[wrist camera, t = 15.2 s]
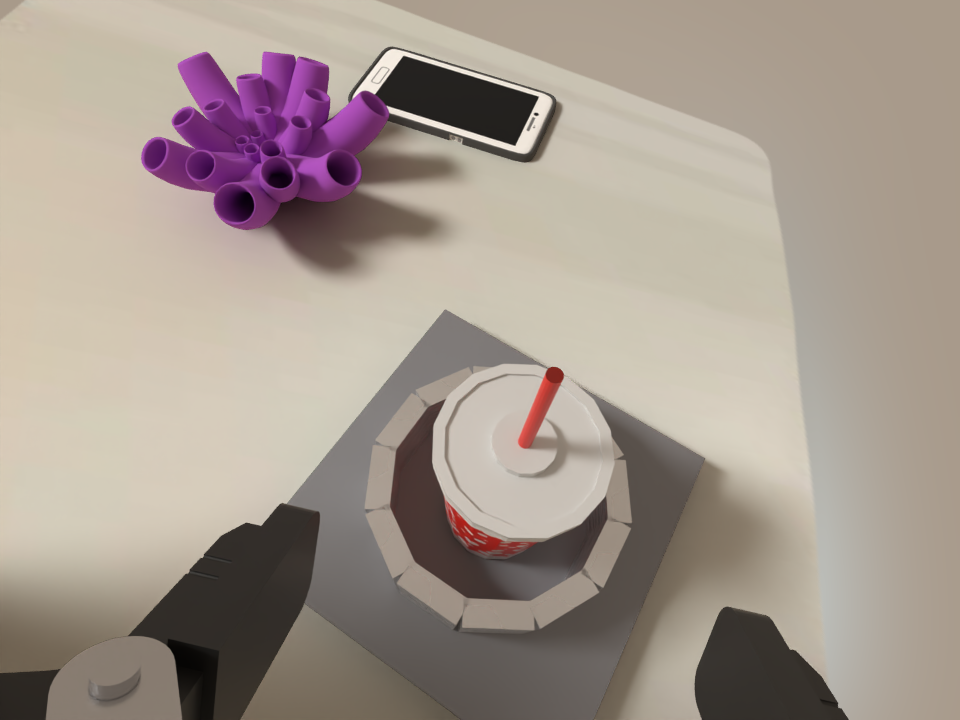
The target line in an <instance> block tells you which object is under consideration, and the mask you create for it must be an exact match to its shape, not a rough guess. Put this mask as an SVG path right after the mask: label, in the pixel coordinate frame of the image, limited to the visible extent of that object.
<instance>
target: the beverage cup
mask: <svg viewBox="0 0 960 720" xmlns="http://www.w3.org/2000/svg"><path fill="white" fill-rule="evenodd" d="M432 463H433V469H434V471H435V474H436V476H437V479H438V481H439V484H440V487H441V489H442V492H443V494H444V499H445V507H446V514H447V520H448V522H449V525H450V527H451V530H452V533H453V535H454V537H455V538H456V539H457V540H458V541H459V542H460V544H461V545H462V546H463V547H464V548H465V549H466V550H467V551H468V552H471V553H473V554H475V555H477V556H480V557H482V558H484V559H508V558H510V557H512V556H515V555H517V554H519V553H521V552H524V551H525V550H527V549H528V548H530V547H531V546H533V545H535V544H536V543H538V542H544V541H546V540H548V539H551V538H553V537H555V536H558V535H560V534H562V533H564V532H567V531H569V530H571V529H574V528H575V527H577V526H579V525H580V524H581V523H582V522H583V521H584V520H585V519H586V518H587V517H588V516H589V514H590V513H591V512H592V511H593V510H594V509H595V508H596V506H597V505H598V504H599V503H600V502H601V501H602V500H603V499H604V497H605V495H606V492H607V489H608V485H609V482H610V478H611V475H612V471H613V468H614V465H615V461H614V453H613V445H612V438H611V430H610V428H609V426H608V424H607V422H606V421H605V419H604V417H603V415H602V413H601V412H600V410H599V408H598V406H597V404H596V403H595V401H594V399H593V398H591V397H590V396H589V395H588V394H587V393H586V392H585V391H583V390H582V389H581V388H580V387H579V386H578V385H576V384H575V383H574V382H573V381H572V380H571V379H570V378H568V377H566V376H564V373H563V372H562V370H561V369H559V368H557V367H551V368H549V369H546V368H543V367H541V366H538V365H526V364H501V365H498V366H495V367H492V368H489V369H486V370H483V371H480V372H477V373H474V374H472V375H471V376H470V377H469V378H468V379H466V380H465V381H464V382H463V383H462V384H461V385H459V386H458V387H457V388H456V389H455V390H454V391H452V392H451V393H450V394H449V395H448V396H447V398H446V400H445V403H444V405H443V407H442V409H441V411H440V413H439V415H438V417H437V419H436V421H435V423H434V427H433V453H432Z"/></svg>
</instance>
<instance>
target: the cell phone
mask: <svg viewBox="0 0 960 720" xmlns="http://www.w3.org/2000/svg"><path fill="white" fill-rule="evenodd" d="M497 79H498V80H497ZM507 82H508V83H507ZM517 85H518V86H517ZM527 88H528V89H527ZM365 90H366V91H369V92H371V93H373V94H375V95H376V96H377V97H379V98H380V99H381V100H382V101H383V102H384V104H385V105H386V106H387V108H388V110H389V118H388V120H387V121H390V122H394V123H397V124H400V125H403V126H406V127H409V128H412V129H416V130H419V131H422V132H425V133H428V134H431V135H435V136H438V137H441V138H444V139H447V140H449V139H451V140H454V141H457V142H461V143H462V144H463V145H466V146H469V147H473V148H476V149H479V150H482V151H485V152H488V153H492V154H495V155H498V156H501V157H504V158H508V159H511V160H515V161H519V162H529V161H530V160H532V158H533V157H534V156H535V154H536V152H537V149H538V147H539V145H540V143H541V141H542V138H543V136H544V134H545V132H546V130H547V127H548V125H549V123H550V121H551V119H552V116H553V114H554V111H555V107H556V99H555V97H554V96H553V95H551V94H549V93H546V92H543V91H540V90H537V89H534V88H530V87H527V86H524V85H520V84H517V83H514V82H511V81H507V80H504V79H501V78H497V77H494V76H491V75H487V74H484V73H481V72H477V71H474V70H471V69H468V68H464V67H461V66H458V65H454V64H451V63H448V62H444V61H441V60H438V59H435V58H431V57H428V56H425V55H421V54H418V53H415V52H411V51H408V50H404V49H401V48H396V47H388V48H386V49H384V50H383V51H382V52H381V53H380V55H379V56H378V57H377V58H376V60H375V61H374V62H373V64H372V65H371V66H370V67H369V69H368V70H367V71H366V73H365V74H364V75H363V76H362V78H361V79H360V80H359V82H358V83H357V84H356V85H355V87H354V88H353V89H352V91H351V92H350V94H349V97H348V101H349V103H350V102H351V101H352V100H353V98H354V97H355V96H356V95H358V94H359V93H360V92H361V91H365Z"/></svg>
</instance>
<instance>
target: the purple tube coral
mask: <svg viewBox="0 0 960 720" xmlns="http://www.w3.org/2000/svg"><path fill="white" fill-rule="evenodd" d="M178 69H179V71H180V74H181V76H182V78H183V80H184V82H185V84H186V86H187V87H188V89H189V91H190V93H191V94H192V96H193V98H194V99H195V101H196V103H197V104H198V106H199V107H200V109H201V110H202V112H203V113H204V115H205V116H206V117H207V119H208V120H207V119H206V118H205V117H204V116H203V115H202V114H200V113H199V112H198V111H197V110H195V109H194V108H192V107H185V108H182V109H181V110H179V111H178V112H177V113H176V114H175V115H174V117H173V119H172V125H173V126H174V128H175V129H176V130H177V132H178V133H179V134H180V135H181V136H182V137H183V138H184V139H185V140H186V142H188V143H189V144H190V145H191V146H193V147H194V148H195V149H194V148H191V147H187V146H184V145H181V144H179V143H176V142H174V141H171V140H168V139H166V138H162V137H155V138H152V139H151V140H149V141H148V142H147V143H146V145H145V147H144V148H143V151H142V157H141V160H142V164H143V166H144V167H145V169H146V170H148V171H149V172H150V173H152V174H153V175H155V176H156V177H158V178H160V179H162V180H164V181H166V182H168V183H171V184H174V185H177V186H180V187H183V188H186V189H191V190H199V191H207V192H212V193H215V196H214V208H215V211H216V213H217V215H218V216H219V218H220V219H221V220H223V221H224V222H225V223H226V224H228V225H230V226H232V227H234V228H238V229H243V230H249V229H255V228H260V227H262V226H264V225H265V224H267V223H268V222H269V221H270V220H271V219H272V217H273V216H274V215H275V214H276V213H277V211H278V208H279V206H280V204H281V202H288V201H290V200H292V199H293V198H295V197H300V198H303V199H307V200H311V201H315V202H331V201H336V200H338V199H341V198H343V197H345V196H347V195H349V194H350V193H351V192H352V191H353V190H354V189H355V188H356V187H357V185H358V184H359V182H360V180H361V177H362V169H361V165H360V163H359V161H358V159H357V158H356V157H355V155H356V154H358V153H359V152H361V151H362V150H364V149H365V148H366V147H367V146H368V145H369V144H370V143H371V142H372V141H373V140H374V139H375V138H376V137H377V135H378V134H379V132H380V131H381V130H382V128H383V127H384V125H385V124H386V122H387V120H388V118H389V110H388V108H387V106H386V105H385V104H384V102H383V101H382V100H381V99H380V98H379V97H377V96H376V95H375V94H373V93H371V92H369V91H366V90H365V91H361V92H360V93H359V94H358V95H356V96H355V97H354V98H353V100H352V101H351V102H350V103H349V104H348V105H347V106H346V107H345V108H343V109H342V110H341V111H340V112H339V113H338V114H337V115H336V116H334V117H333V118H331V119H329V120H328V121H327V119H328V115H329V110H330V97H329V96H328V95H327V90H328V81H329V67H328V66H327V65H325V64H323V63H321V62H318V61H315V60H312V59H308V58H305V57H298V59H297V62H296V59H295V56H294V55H290V54H281V53H272V52H263V57H262V76H261V75H260V74H245V75H241V76H238V77H237V79H236V81H237V87H238V92H239V95H238V94H237V92H236V91H235V90H234V88H233V87H232V85H231V84H230V82H229V81H228V79H227V78H226V76H225V75H224V73H223V72H222V71H221V69H220V68H219V66H218V65H217V63H216V62H215V60H214V59H213V58H212V56H211V55H210V54H209V53H208V52H203V53H200V54H197V55H194V56H192V57H190V58H188V59H185V60H184V61H182V62H180V63H179V64H178Z"/></svg>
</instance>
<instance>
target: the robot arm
mask: <svg viewBox="0 0 960 720" xmlns="http://www.w3.org/2000/svg"><path fill="white" fill-rule="evenodd" d="M319 525H320V513H319V511H315V510H310V509H306V508H301V507H297V506H293V505H288V504H284V503H281V504H280V505H279V506H278V507H277V508H276V509H275V510H274V511H273V513H272V514H271V515H270V516H269V517H268V519H267V520H266V521H265V522H264V523H263V525H262V526H259V525H254V524H250V523H245V524H243V525H241V526H239V527H237V528H235V529H233V530H231V531H230V532H228V533H226V534H224V535H222V536H221V537H220V538H219V539H218V540H217V541H216V542H215V543H214V544H213V545H212V546H211V547H210V549H209V550H208V551H207V552H206V553H205V554H204V557H203V558H200V559H199V560H198V561H197V563H196V564H195V565H194V566H193V567H192V568H191V569H190V571H189V573H188V574H185V575H184V576H183V578H182V579H181V580H180V581H179V582H178V583H177V584H176V585H175V586H174V587H173V588H172V589H171V590H170V592H169V593H168V594H167V595H166V596H165V597H164V598H163V599H162V600H161V601H160V602H159V603H158V604H157V606H156V607H155V608H154V609H153V610H152V611H151V612H150V613H149V614H148V615H147V616H146V617H145V618H144V620H143V621H142V622H141V623H140V624H139V625H138V626H137V627H136V628H135V629H134V630H133V631H132V632H131V633H130V635H129V636H127V637H120V638H114V639H111V640H107V641H104V642H101V643H99V644H96V645H94V646H92V647H90V648H88V649H86V650H84V651H83V652H81V653H80V654H78V655H76V656H75V657H74V658H72V659H71V660H70V661H69V662H68V663H66V665H65V666H64V667H63V668H62V669H58V670H50V671H36V672H17V673H0V720H240V719H241V717H242V715H243V713H244V712H245V710H246V708H247V706H248V704H249V703H250V701H251V699H252V697H253V695H254V694H255V692H256V690H257V688H258V686H259V685H260V683H261V681H262V679H263V678H264V676H265V674H266V672H267V670H268V669H269V667H270V665H271V663H272V661H273V660H274V658H275V656H276V654H277V652H278V651H279V649H280V647H281V645H282V644H283V642H284V640H285V638H286V636H287V635H288V633H289V631H290V629H291V627H292V626H293V624H294V622H295V620H296V618H297V617H298V615H299V613H300V611H301V609H302V607H303V605H304V602H305V600H306V597H307V594H308V591H309V588H310V584H311V580H312V574H313V567H314V560H315V553H316V546H317V539H318V532H319ZM695 698H696V703H697V706H698V709H699V712H700V715H701V718H702V720H848V718H847V716H846V715H845V713H844V712H843V710H842V709H840V708H838V702H837V701H836V699H835V697H834V696H833V694H832V693H831V691H830V690H829V688H828V686H827V685H826V683H825V682H824V680H823V678H822V677H821V676H820V675H819V674H818V673H817V672H816V671H815V670H814V669H813V668H812V667H811V666H810V665H809V664H808V663H807V662H806V661H805V660H804V659H803V658H802V657H801V656H800V655H799V654H798V653H797V652H796V651H794V650H790V649H789V647H788V646H787V644H786V642H785V641H784V639H783V637H782V636H781V634H780V632H779V631H778V629H777V627H776V626H775V624H774V622H773V621H772V620H771V619H770V618H769V617H768V616H766V615H762V614H758V613H753V612H749V611H745V610H740V609H736V608H732V607H725V608H723V609H722V610H721V611H720V613H719V615H718V617H717V620H716V622H715V625H714V627H713V630H712V632H711V635H710V637H709V640H708V642H707V645H706V647H705V650H704V652H703V655H702V657H701V660H700V662H699V665H698V667H697V671H696V676H695Z"/></svg>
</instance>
